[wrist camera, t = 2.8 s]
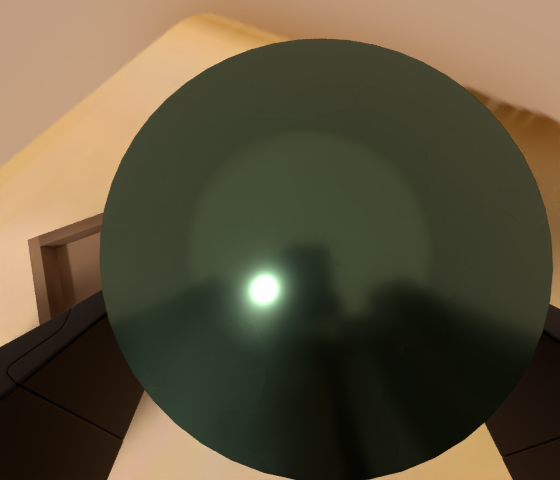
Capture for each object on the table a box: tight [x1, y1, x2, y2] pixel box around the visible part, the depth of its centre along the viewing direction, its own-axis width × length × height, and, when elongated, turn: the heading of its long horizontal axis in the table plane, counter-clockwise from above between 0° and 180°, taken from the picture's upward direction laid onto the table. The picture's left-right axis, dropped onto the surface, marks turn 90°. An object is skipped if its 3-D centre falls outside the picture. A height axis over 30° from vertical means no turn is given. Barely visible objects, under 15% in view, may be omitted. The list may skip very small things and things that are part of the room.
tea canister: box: [99, 39, 553, 480], centre depth 9 cm, size 7×7×12 cm
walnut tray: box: [28, 213, 104, 325], centre depth 15 cm, size 11×11×2 cm
